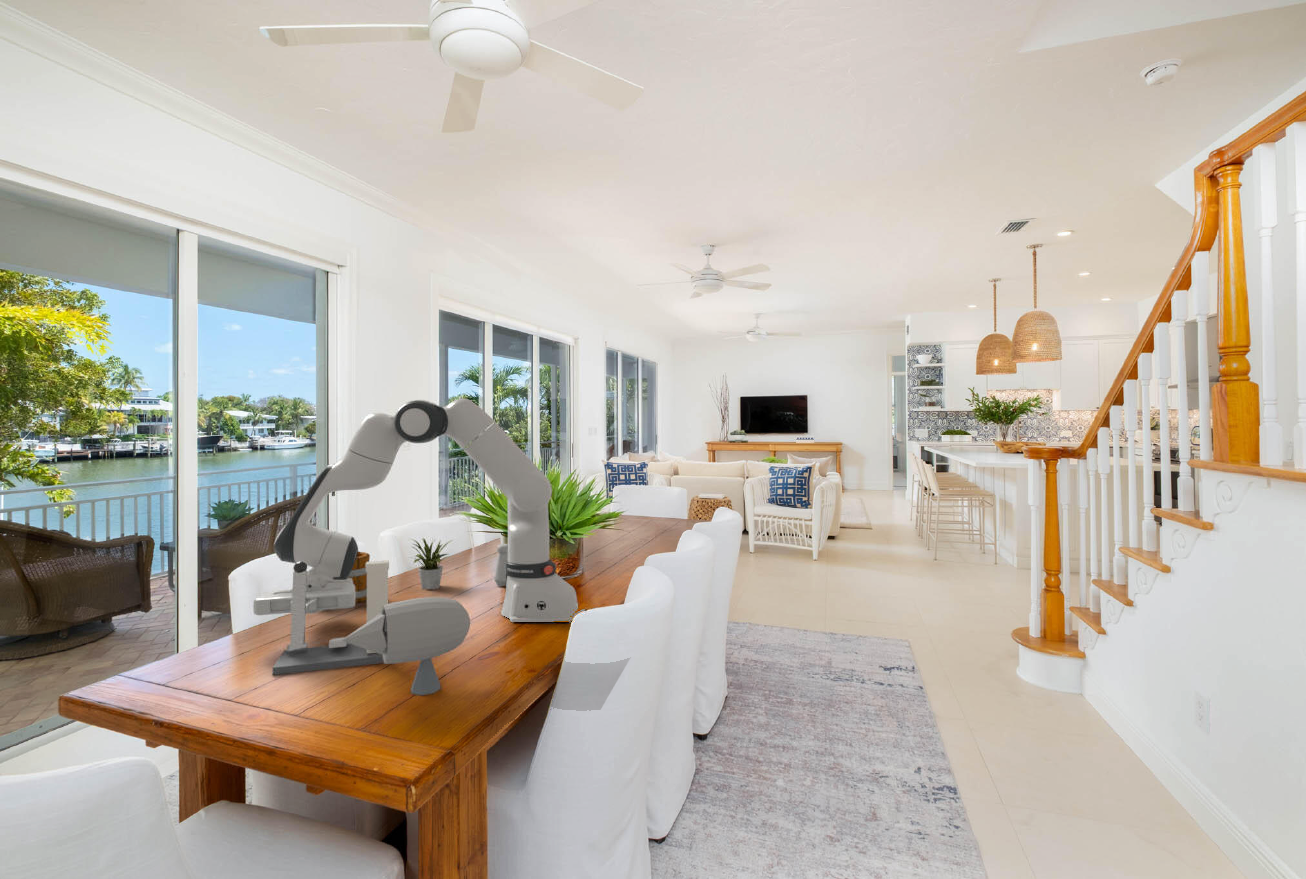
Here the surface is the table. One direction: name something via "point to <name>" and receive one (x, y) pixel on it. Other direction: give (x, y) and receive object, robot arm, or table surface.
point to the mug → (360, 576)
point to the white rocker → (337, 642)
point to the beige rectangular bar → (376, 588)
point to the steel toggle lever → (298, 609)
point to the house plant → (430, 565)
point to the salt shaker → (501, 565)
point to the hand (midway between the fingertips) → (299, 610)
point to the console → (325, 659)
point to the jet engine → (415, 635)
